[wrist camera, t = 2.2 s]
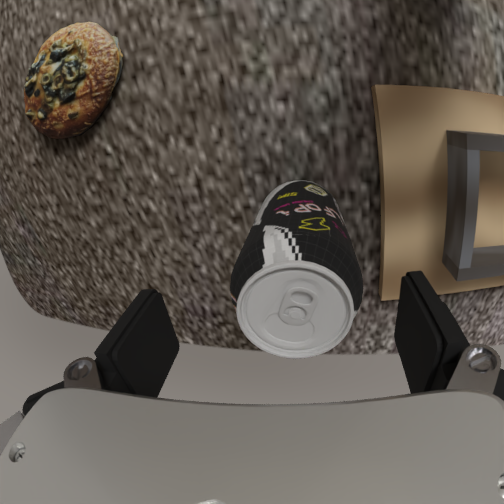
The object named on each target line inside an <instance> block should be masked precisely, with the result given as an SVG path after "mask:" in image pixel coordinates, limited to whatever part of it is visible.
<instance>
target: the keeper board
mask: <svg viewBox="0 0 504 504" xmlns="http://www.w3.org/2000/svg"><path fill="white" fill-rule="evenodd" d="M371 89H372V96H373V104H374V112H375V121H376V131H377V142H378V155H379V171H380V194H381V255H380V279H379V295H380V298H381V301H385V300H395V299H399V296H400V286H401V278H402V276H406V273H407V272H410V271H422V272H423V273H424V275H425V276H426V278H427V279H428V281H429V283H430V284H431V286H432V287H433V289H434V290H435V292H436V293H437V295H440V294H448V293H456V292H463V291H470V290H477V289H484V288H490V287H497V286H503V285H504V96H499V95H493V94H488V93H481V92H474V91H467V90H459V89H450V88H439V87H426V86H408V85H374V86H371Z"/></svg>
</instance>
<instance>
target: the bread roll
mask: <svg viewBox="0 0 504 504" xmlns="http://www.w3.org/2000/svg"><path fill="white" fill-rule="evenodd" d="M122 57H123V54H122V53H121V49H120V47H119V42H118V38H117V37H115V36H114V37H112V35H111V34H109V33H108V32H107V31H106V30H105V29H104V28H102V27H101V26H100V25H98V24H96V23H92V22H86V23H76V24H74V25H69V26H68V27H66V28H62V29H60V30H59V31H58V32H56V33H54V34H53V35H52V36H51V37H50V38H49V39H48V40H47V41H46V42H45V43H44V44H43V45H42V47H41V48H40V51H39V53H38V55H37V57H36V59H35V61H34V64H32V65H31V68H29V71H28V75H27V76H28V78H26V84H25V89H24V96H25V97H24V100H25V109H26V115H27V117H28V119H29V120H30V122H31V123H32V124H33V126H34V127H35V128H36V130H37V131H39V132H40V133H42V134H44V135H46V136H48V137H50V138H53V139H64V138H70V137H74V136H78V135H81V134H83V133H84V132H85V131H86V130H88V129H90V127H92V126H93V125H94V124H93V123H95V122H96V121H97V120H98V119H99V117H100V116H101V115H102V113H103V112H104V110H105V109H106V107H107V105H108V103H109V101H110V100H111V98H112V90H113V88H114V87H115V85H116V84H117V82H118V80H119V78H120V75H121V71H122V65H123V61H122Z"/></svg>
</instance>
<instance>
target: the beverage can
mask: <svg viewBox="0 0 504 504" xmlns="http://www.w3.org/2000/svg"><path fill="white" fill-rule="evenodd" d="M230 291H231V298H232V303H233V305H234V308H235V311H236V313H237V320H238V323H239V325H240V328H241V330H242V331H243V333H244V334H245V336H246V337H247V338H248V339H249V340H250V341H251V342H252V343H253V344H254V345H256V346H257V347H258V348H260V349H261V350H263V351H265V352H267V353H270V354H272V355H276V356H279V357H284V358H294V359H295V358H296V359H298V358H299V359H301V358H308V357H313V356H317V355H320V354H322V353H325V352H327V351H329V350H330V349H332V348H333V347H335V346H336V345H338V344H339V343H340V342H341V341H342V340H343V338H344V337H345V336H346V334H347V333H348V331H349V330H350V327H351V325H352V322H353V319H354V317H355V315H356V314H357V312H358V309H359V307H360V304H361V301H362V294H363V280H362V274H361V270H360V267H359V264H358V261H357V258H356V255H355V252H354V249H353V246H352V243H351V240H350V237H349V234H348V231H347V229H346V226H345V223H344V220H343V217H342V215H341V212H340V209H339V207H338V204H337V202H336V200H335V199H334V197H333V196H332V195H331V194H330V193H329V192H328V191H327V190H326V189H325V188H323V187H322V186H320V185H318V184H316V183H313V182H309V181H304V180H297V181H291V182H287V183H284V184H282V185H280V186H278V187H277V188H275V189H274V190H273V191H272V192H271V193H270V194H269V195H268V196H267V197H266V199H265V201H264V202H263V204H262V207H261V209H260V211H259V213H258V215H257V217H256V220H255V222H254V224H253V226H252V228H251V230H250V233H249V235H248V237H247V239H246V241H245V243H244V246H243V248H242V250H241V252H240V254H239V257H238V259H237V261H236V263H235V266H234V269H233V272H232V275H231V284H230Z"/></svg>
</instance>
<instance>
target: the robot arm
mask: <svg viewBox="0 0 504 504" xmlns="http://www.w3.org/2000/svg"><path fill="white" fill-rule="evenodd" d="M394 337H395V343H396V346H397V349H398V352H399V355H400V358H401V361H402V365H403V368H404V371H405V374H406V378H407V381H408V385H409V388H410V392H411V394H405V395H398V396H390V397H383V398H374V399H364V400H355V401H344V402H331V403H313V404H284V405H283V404H280V405H258V404H226V403H209V402H195V401H184V400H173V399H164V398H157V397H158V395H159V392H160V390H161V388H162V386H163V384H164V381H165V379H166V377H167V375H168V373H169V371H170V369H171V366H172V364H173V362H174V360H175V358H176V356H177V354H178V351H179V342H178V339H177V336H176V334H175V331H174V328H173V326H172V323H171V320H170V317H169V315H168V312H167V309H166V306H165V303H164V300H163V297H162V295H161V293H158V291H157V290H155V289H146V290H141V291H140V293H139V294H138V295H137V297H136V298H135V299H134V300H133V302H132V303H131V304H130V305H129V307H128V308H127V309H126V311H125V312H124V313H123V315H122V316H121V317H120V318H119V320H118V321H117V322H116V324H115V325H114V326H113V328H112V329H111V330H110V332H109V333H108V334H107V336H106V337H105V338H104V340H103V341H102V342H101V344H100V345H99V347H98V348H97V349H96V351H95V352H94V353H95V355H96V357H97V358H96V359H95V361H94V360H93V359H92V358H89V357H83V358H79V359H77V360H75V361H73V362H72V363H70V364H69V365H68V366H67V368H66V369H65V371H64V381H62V382H60V383H58V384H55V385H53V386H51V387H49V388H47V389H44V390H42V391H40V392H37V393H35V394H33V395H31V396H29V397H28V398H27V400H26V402H25V403H24V405H23V413H21V412H20V411H18V412H17V413H16V414H14V415H13V416H11V417H10V418H9V419H7V420H6V421H4V422H3V423H2V424H0V504H504V370H503V369H501V368H500V367H501V359H500V356H499V355H498V353H497V352H496V351H495V350H494V349H493V348H491V347H489V346H487V345H482V344H474V345H471V346H470V344H469V343H468V341H467V339H466V337H465V335H464V334H463V332H462V330H461V328H460V327H459V325H458V323H457V322H456V320H455V318H454V317H453V315H452V313H451V312H450V310H449V308H448V307H447V305H446V304H445V303H444V302H442V301H441V300H440V298H439V297H438V295H437V293H436V292H435V290H434V289H433V287H432V286H431V284H430V283H429V281H428V279H427V278H426V276H425V275H424V273H423V272H422V271H410V272H407V273H406V276H402V278H401V286H400V296H399V304H398V312H397V319H396V326H395V333H394Z"/></svg>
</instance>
